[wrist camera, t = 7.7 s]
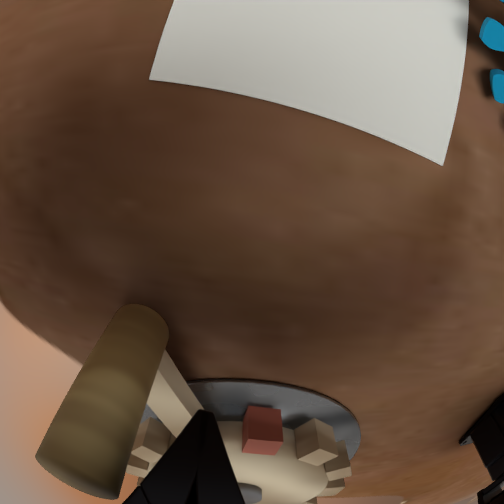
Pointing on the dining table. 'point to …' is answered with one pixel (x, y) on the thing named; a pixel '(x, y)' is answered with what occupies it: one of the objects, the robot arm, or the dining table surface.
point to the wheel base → (273, 405)
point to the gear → (496, 40)
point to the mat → (329, 60)
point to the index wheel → (175, 425)
